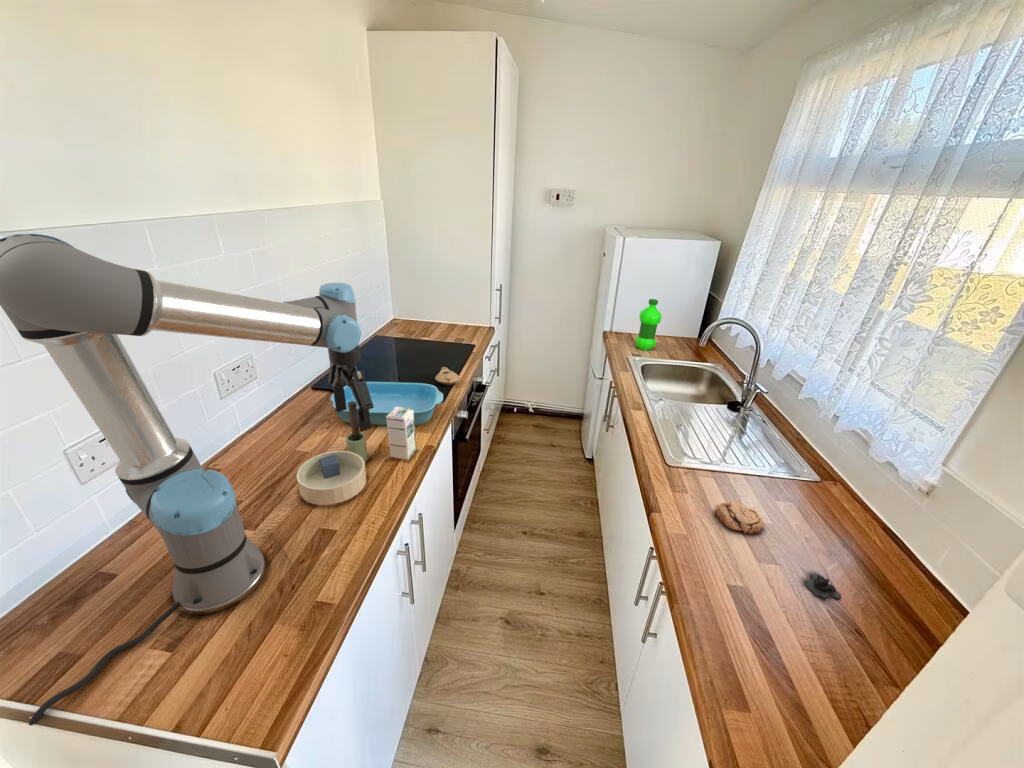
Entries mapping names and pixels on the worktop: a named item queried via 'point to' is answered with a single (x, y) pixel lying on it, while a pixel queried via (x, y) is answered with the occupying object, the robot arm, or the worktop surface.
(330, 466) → the block
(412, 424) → the syrup box
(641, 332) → the plastic bottle
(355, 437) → the chopstick
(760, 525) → the cookie
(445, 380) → the pottery oil lamp
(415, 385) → the casserole dish
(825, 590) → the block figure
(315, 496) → the bowl
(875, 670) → the worktop surface
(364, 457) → the utensil pot
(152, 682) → the worktop surface
